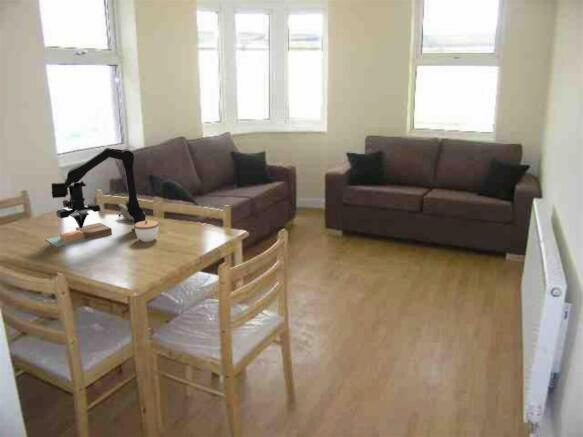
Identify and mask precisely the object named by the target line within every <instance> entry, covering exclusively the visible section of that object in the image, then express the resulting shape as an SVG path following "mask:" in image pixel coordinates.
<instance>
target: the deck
mask: <svg viewBox="0 0 583 437" xmlns="http://www.w3.org/2000/svg"><path fill="white" fill-rule="evenodd" d="M77 230H80V231H82V232H84V236H85V239H87V240H86V241H89V240H93V239H97V238H102V237H106V236H110V235H113V231H112V228H111V227H110V226H108V225H106V224H104V223H101V222H98V223H97V222H96V223H93V224H92V223H91V224H88V225H83V227H82V228H81V229H80V228H79V226H78V227H75V231H77Z"/></svg>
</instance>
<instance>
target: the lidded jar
mask: <svg viewBox="0 0 583 437" xmlns="http://www.w3.org/2000/svg"><path fill="white" fill-rule="evenodd" d="M134 227H135V231H134V232H135V235H136V237H137V238H138V240H141V242H142V243H143V242H144V243H148V242H153V241H155V239H156V238H157V236H158V234H159V222H158V221H157V220H147V219H146V220H145V221H141V222H138V223H136V224H135V225H134V224H133V228H134Z"/></svg>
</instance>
